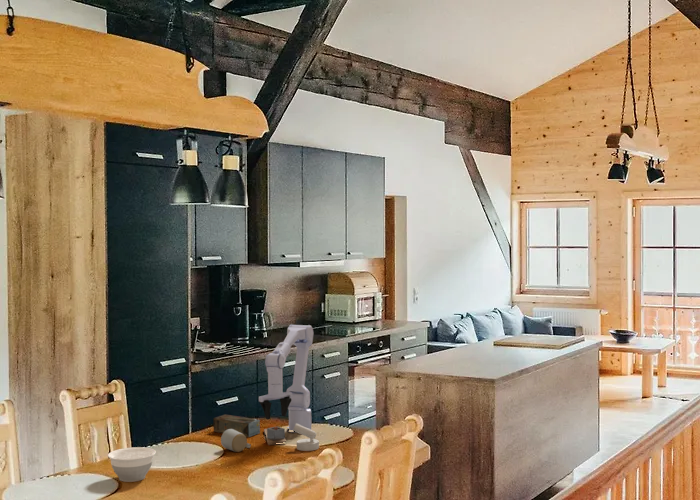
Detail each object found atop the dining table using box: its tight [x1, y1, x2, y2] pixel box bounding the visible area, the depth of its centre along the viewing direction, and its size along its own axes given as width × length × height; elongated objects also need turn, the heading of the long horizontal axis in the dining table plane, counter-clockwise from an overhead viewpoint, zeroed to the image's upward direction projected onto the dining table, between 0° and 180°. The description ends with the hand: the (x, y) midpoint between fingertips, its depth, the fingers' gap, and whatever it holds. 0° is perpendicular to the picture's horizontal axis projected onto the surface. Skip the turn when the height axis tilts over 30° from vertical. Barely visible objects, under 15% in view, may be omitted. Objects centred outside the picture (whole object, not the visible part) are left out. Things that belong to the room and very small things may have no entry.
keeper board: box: [263, 426, 287, 446], centre depth 340 cm, size 7×22×6 cm, turn 10°
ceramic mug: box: [220, 429, 252, 453], centre depth 322 cm, size 11×8×8 cm
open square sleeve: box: [266, 425, 286, 441], centre depth 334 cm, size 5×5×4 cm
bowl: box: [107, 446, 157, 483], centre depth 286 cm, size 16×16×9 cm
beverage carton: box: [212, 414, 261, 438], centre depth 350 cm, size 8×19×7 cm, turn 59°
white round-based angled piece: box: [293, 423, 320, 452], centre depth 324 cm, size 9×10×10 cm
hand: (275, 417), depth 334 cm, fingers open, 7 cm apart
